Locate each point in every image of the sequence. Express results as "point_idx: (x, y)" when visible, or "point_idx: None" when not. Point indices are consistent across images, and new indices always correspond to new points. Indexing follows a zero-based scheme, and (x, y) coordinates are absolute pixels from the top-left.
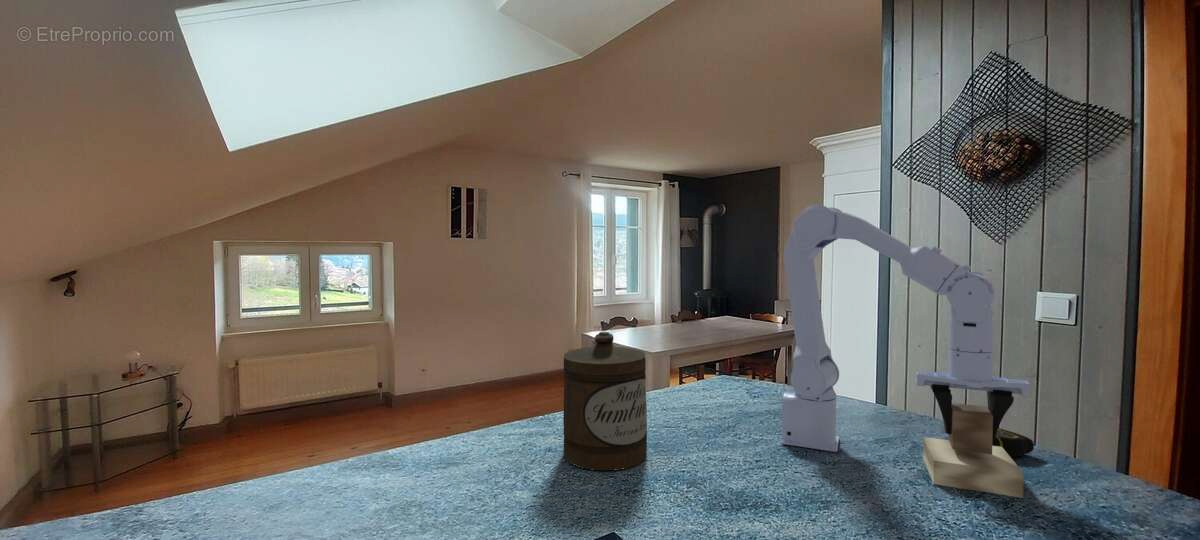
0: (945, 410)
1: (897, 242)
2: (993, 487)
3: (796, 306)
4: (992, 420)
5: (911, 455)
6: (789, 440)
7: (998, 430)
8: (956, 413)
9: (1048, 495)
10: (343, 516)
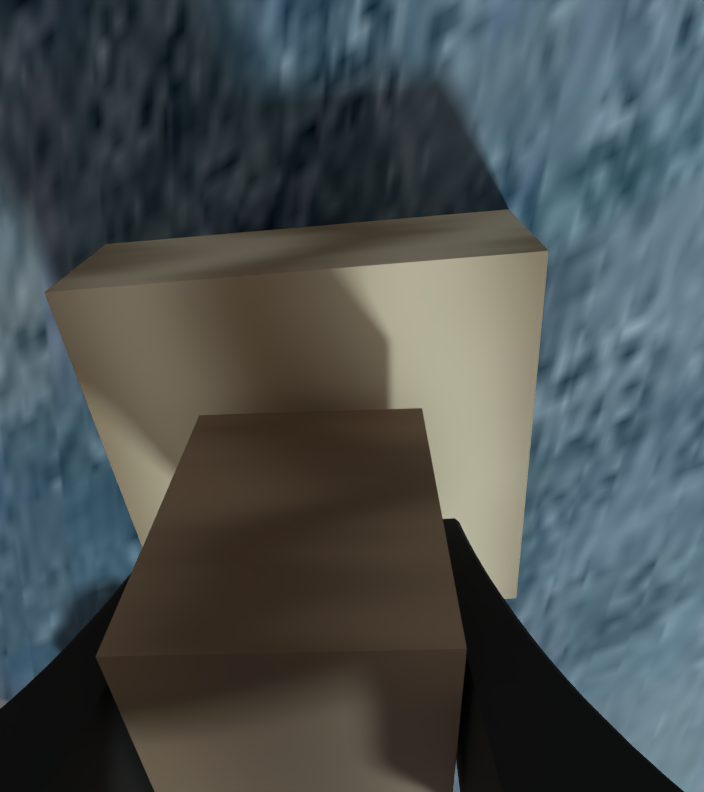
0: (521, 669)
1: None
2: (224, 242)
3: None
4: (118, 610)
5: (537, 520)
6: None
7: None
8: (431, 629)
9: (13, 332)
10: None
